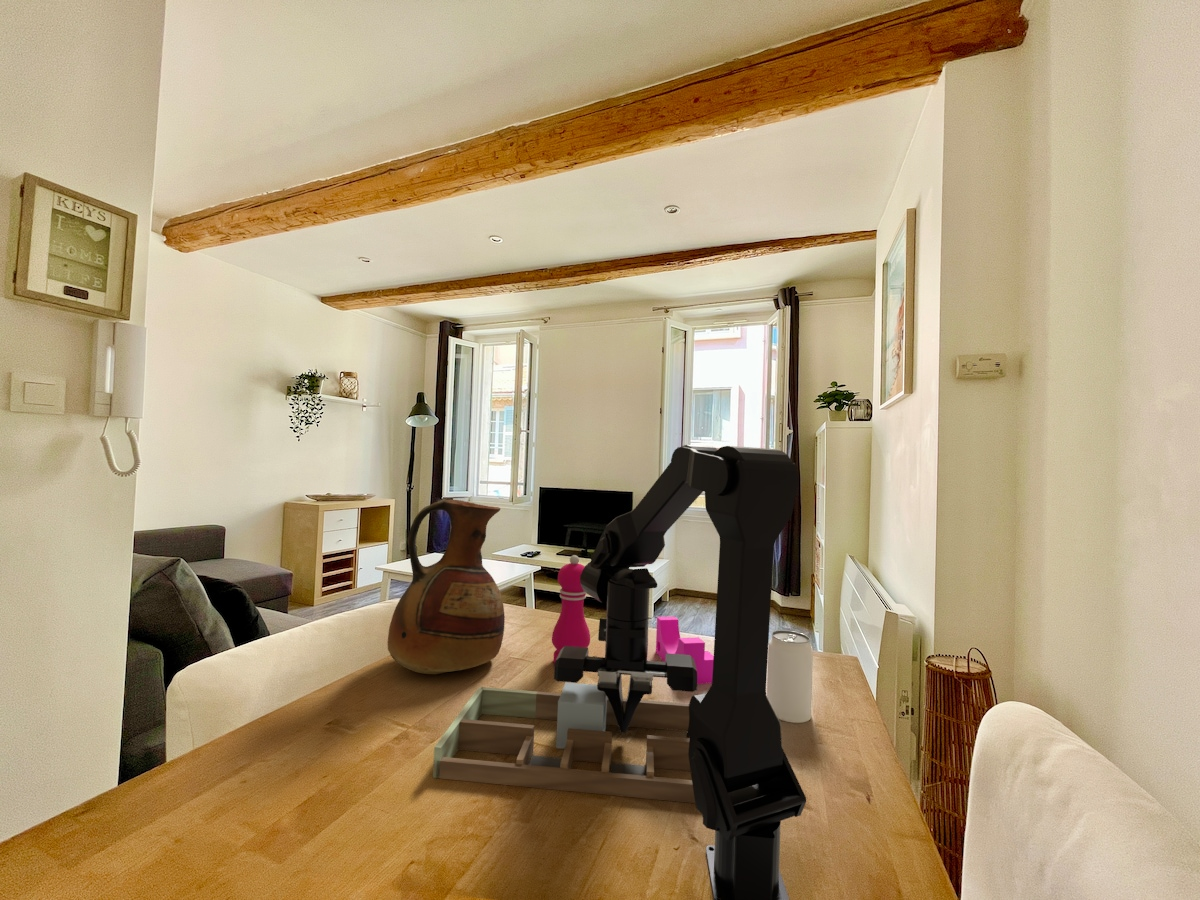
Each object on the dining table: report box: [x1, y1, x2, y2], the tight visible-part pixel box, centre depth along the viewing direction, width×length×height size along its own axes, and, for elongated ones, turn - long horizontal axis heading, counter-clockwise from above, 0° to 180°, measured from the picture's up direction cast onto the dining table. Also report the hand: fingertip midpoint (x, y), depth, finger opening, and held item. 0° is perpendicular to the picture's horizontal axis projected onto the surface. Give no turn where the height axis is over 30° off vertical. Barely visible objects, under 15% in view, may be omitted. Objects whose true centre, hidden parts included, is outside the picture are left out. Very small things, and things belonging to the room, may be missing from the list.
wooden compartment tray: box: [432, 686, 695, 804], centre depth 66 cm, size 16×33×4 cm, turn 85°
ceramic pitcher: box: [387, 498, 506, 675], centre depth 93 cm, size 20×20×30 cm
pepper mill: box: [551, 554, 591, 665], centre depth 95 cm, size 7×7×20 cm
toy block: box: [655, 616, 714, 685], centre depth 95 cm, size 15×6×8 cm, turn 12°
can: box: [766, 629, 814, 724], centre depth 78 cm, size 6×6×12 cm
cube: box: [555, 682, 607, 750], centre depth 69 cm, size 6×6×6 cm
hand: (623, 731), depth 69 cm, fingers closed
